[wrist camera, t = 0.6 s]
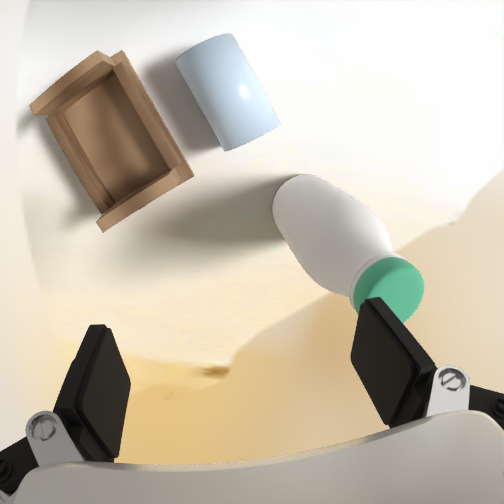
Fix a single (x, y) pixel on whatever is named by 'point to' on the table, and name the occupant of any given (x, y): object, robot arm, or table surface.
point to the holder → (112, 136)
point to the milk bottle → (344, 245)
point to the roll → (227, 91)
